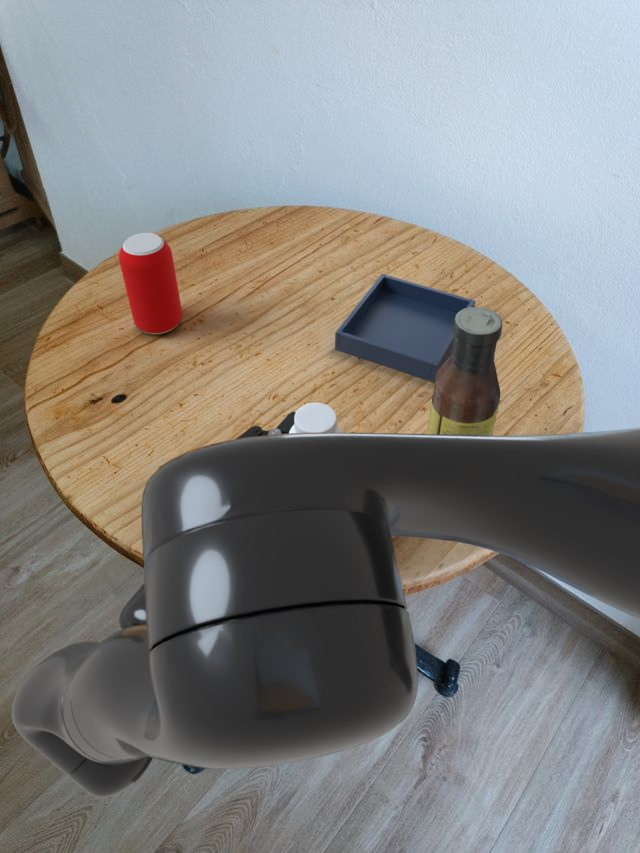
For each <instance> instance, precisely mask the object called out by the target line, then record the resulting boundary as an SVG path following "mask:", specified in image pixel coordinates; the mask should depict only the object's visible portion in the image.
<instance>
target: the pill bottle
mask: <svg viewBox="0 0 640 853" xmlns="http://www.w3.org/2000/svg"><path fill="white" fill-rule="evenodd" d="M296 411H297V412H296ZM296 411H295V412H296V413H295V417H294V425H293V426H292V428H291V429H290V431H289V433H343V431H342V429H341V428H340V426H339V424H338V417H337V416H338V415H337V413H336V411H335V410H334V408H332V407H331V406H330V405H328V404H326V403H323V402H309V403H305V404H303V405H301V406H300V407H299V408H298V409H297V410H296Z"/></svg>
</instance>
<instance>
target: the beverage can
mask: <svg viewBox="0 0 640 853" xmlns="http://www.w3.org/2000/svg"><path fill="white" fill-rule="evenodd" d="M118 262H119V266H120V270H121V274H122V278H123V282H124V286H125V291H126V295H127V299H128V303H129V307H130V311H131V316H132V320H133V324H134V326H135V327H136V328H137V329H138V330H139V331H141V332H143V333H145V334H149V335H162V334H166V333H168V332H170V331H171V332H172V331H173V330H174V329H175V328H177V327H178V326H179V325H180V324H181V322H182V319H183V309H182V303H181V297H180V291H179V286H178V280H177V273H176V268H175V267H176V266H175V262H174V257H173V251H172V249H171V246H170V245H169V244H168V243H167V242H166V240H165V239H164V237H162V236H160V235H158V234H156V233H152V232H139V233H136V234H132V235H131V236H129V237H127V238H126V239H125V240H123V242H122V244H121V247H120V249H119V252H118Z"/></svg>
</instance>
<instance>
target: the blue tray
mask: <svg viewBox="0 0 640 853" xmlns="http://www.w3.org/2000/svg"><path fill="white" fill-rule="evenodd" d="M476 302H477V301H476V300H475V299H471V298H468V297H464V296H460V295H458V294H454V293H450V292H447V291H443V290H440V289H436V288H433V287H429V286H426V285H422V284H419V283H416V282H413V281H409V280H405V279H403V278H398V277H395V276H393V275H387V274H386V273H385V274H384V273H381V274H380V275H379V277H378V278H377V279H376V280H375V282H374V283H373V284H372V285H371V287H370V288H369V289H368V290H367V292H366V293H365V295H364V296H363V297H362V298H361V300H359V301H358V303H357V305H355V307H354V308H353V309H352V310H351V312H350V313H349V315H348V316H347V317H346V319H345V320H343V323H342V324H340V326H339V327H338V328H337V330H336V331H335V333H334V334H335V335H334V350H335V351H338V352H341V353H343V354H347V355H351V356H354V357H356V358H360V359H361V360H365V361H369V362H371V363H374V364H377V365H380V366H384V367H386V368H388V369H391V370H395V371H398V372H402V373H405V374H407V375H411V376H412V377H417V378H419V379H423V380H426V381H427V382H428V381H429V382H431V383H435V378H436V375H437V372H438V370H439V369H440V368H441V367H442V365H443V364H444V363H445V362H446V360H447V359H448V358H449V357H450V356H451V353H450V352H451V350H452V348H453V341H454V333H453V325H454V320H455V316H456V314H457V313H458V312H459V311H461V310H462V309H465V308H468V307H476Z"/></svg>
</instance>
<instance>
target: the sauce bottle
mask: <svg viewBox="0 0 640 853" xmlns="http://www.w3.org/2000/svg"><path fill="white" fill-rule="evenodd" d="M502 330H503V320H502V317H500V315H499V314H498V312H496V311H494V310H492V309H491V308H487V307H481V306H475V307H468V308H465V309H462V310H461V311H459V312H458V313H457V314H456V316H455V320H454V325H453V333H454V341H453V348H452V350H451V352H450V353H451V355H450V357H449V358H448V359H447V360H446V362H445V363H444V364H443V365H442V367H441V368H440V369H439V370H438V372H437V375H436V378H435V382H433V387H434V388H433V391H432V392H433V393H432V395H431V399H430V400H431V401H430V408H429V416H428V417H429V418H428V425H427V433H426V434H446V435H492V436H493V433H494V429H495V423H496V419H497V414H498V410H499V405H500V401H501V389H500V382H499V377H498V372H497V368H496V363H495V355H496V354H495V353H496V349H497V344H498V341H499V340H500V338H501V336H502Z"/></svg>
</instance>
